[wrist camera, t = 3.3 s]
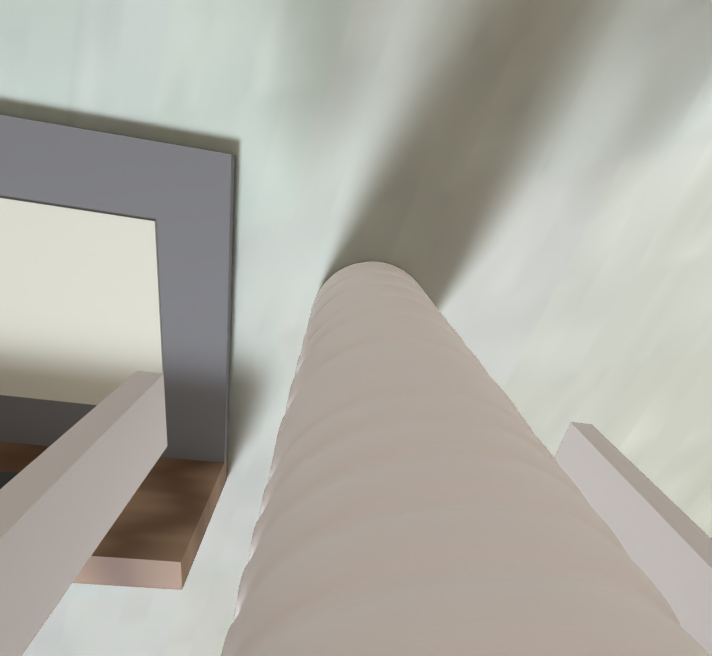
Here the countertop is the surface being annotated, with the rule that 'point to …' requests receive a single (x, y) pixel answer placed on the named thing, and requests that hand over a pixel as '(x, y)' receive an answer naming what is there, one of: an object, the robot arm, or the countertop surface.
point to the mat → (113, 281)
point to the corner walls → (148, 521)
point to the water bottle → (426, 507)
